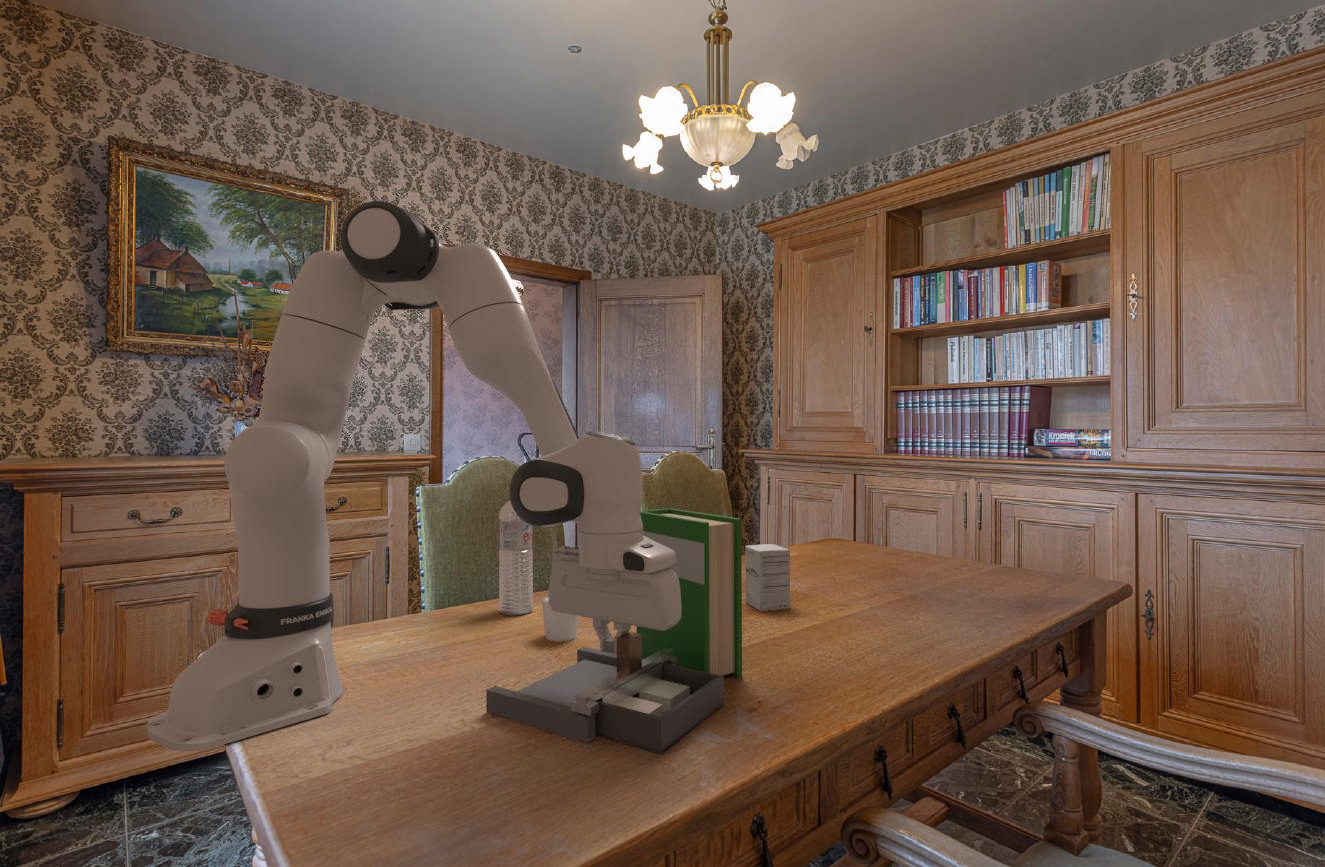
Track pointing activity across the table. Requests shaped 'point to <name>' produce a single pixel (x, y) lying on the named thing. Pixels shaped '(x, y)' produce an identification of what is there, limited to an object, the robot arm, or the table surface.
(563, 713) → the grey railed tray
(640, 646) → the bar
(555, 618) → the white cup
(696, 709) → the box
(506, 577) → the water bottle
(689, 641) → the hardback book
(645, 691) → the sage tile
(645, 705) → the cream tile
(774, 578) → the supplement box
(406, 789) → the table surface
